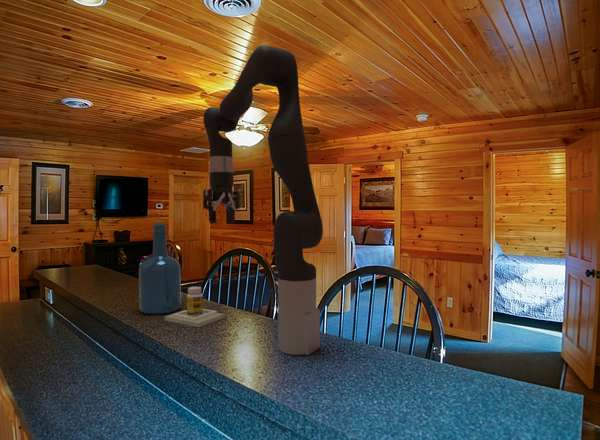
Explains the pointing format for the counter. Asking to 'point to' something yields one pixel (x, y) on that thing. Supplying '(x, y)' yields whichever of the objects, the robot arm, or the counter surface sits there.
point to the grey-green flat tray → (195, 318)
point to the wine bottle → (159, 277)
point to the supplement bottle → (194, 302)
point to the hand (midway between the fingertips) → (222, 222)
